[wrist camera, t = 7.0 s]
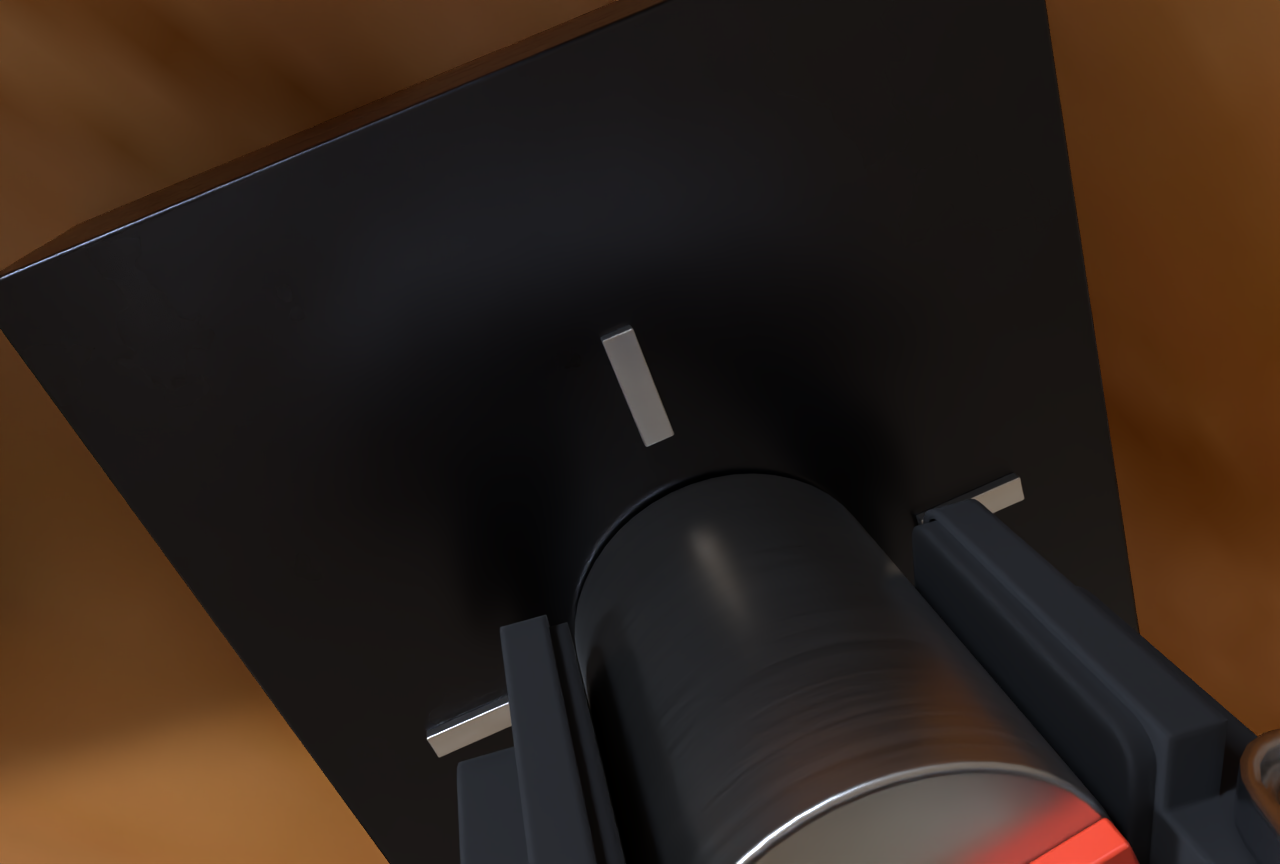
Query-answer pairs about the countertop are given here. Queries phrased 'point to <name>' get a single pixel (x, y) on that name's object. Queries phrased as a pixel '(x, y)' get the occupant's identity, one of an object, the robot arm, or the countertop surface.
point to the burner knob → (805, 700)
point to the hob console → (582, 344)
